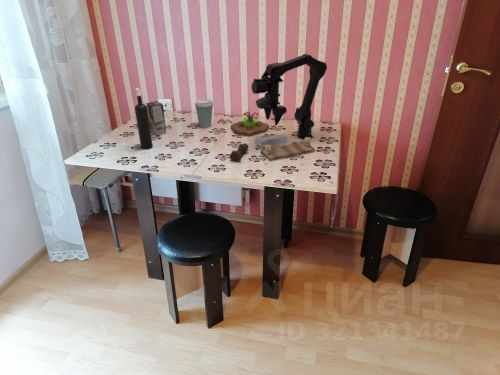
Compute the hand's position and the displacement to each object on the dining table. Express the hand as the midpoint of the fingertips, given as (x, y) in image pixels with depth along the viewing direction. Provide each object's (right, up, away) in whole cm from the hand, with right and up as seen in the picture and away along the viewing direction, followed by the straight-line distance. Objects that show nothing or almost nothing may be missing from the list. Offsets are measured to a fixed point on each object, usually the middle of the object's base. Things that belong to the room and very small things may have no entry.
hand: (271, 122), depth 188 cm
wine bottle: (-64, -13, +2) cm, 65 cm away
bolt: (-15, -18, -8) cm, 25 cm away
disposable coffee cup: (-37, +3, +28) cm, 47 cm away
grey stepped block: (0, -10, +6) cm, 11 cm away
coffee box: (-62, -2, +20) cm, 66 cm away
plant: (-11, -1, +23) cm, 26 cm away
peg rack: (+8, -16, -6) cm, 18 cm away
